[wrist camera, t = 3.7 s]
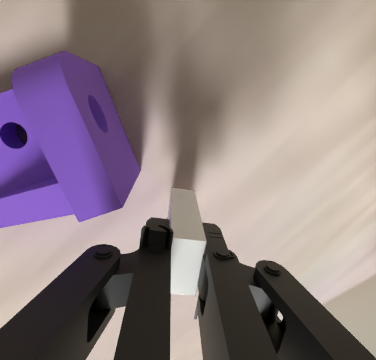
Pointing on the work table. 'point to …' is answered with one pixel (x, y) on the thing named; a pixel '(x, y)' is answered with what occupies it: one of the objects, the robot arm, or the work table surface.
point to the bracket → (62, 144)
